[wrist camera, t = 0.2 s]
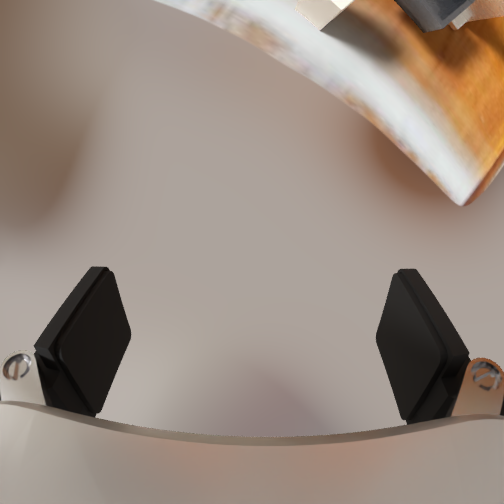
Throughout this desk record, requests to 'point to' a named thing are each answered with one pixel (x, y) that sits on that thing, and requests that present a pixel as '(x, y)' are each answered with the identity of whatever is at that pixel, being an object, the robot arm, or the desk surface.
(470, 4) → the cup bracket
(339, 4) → the cream rectangular beam
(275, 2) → the desk surface
